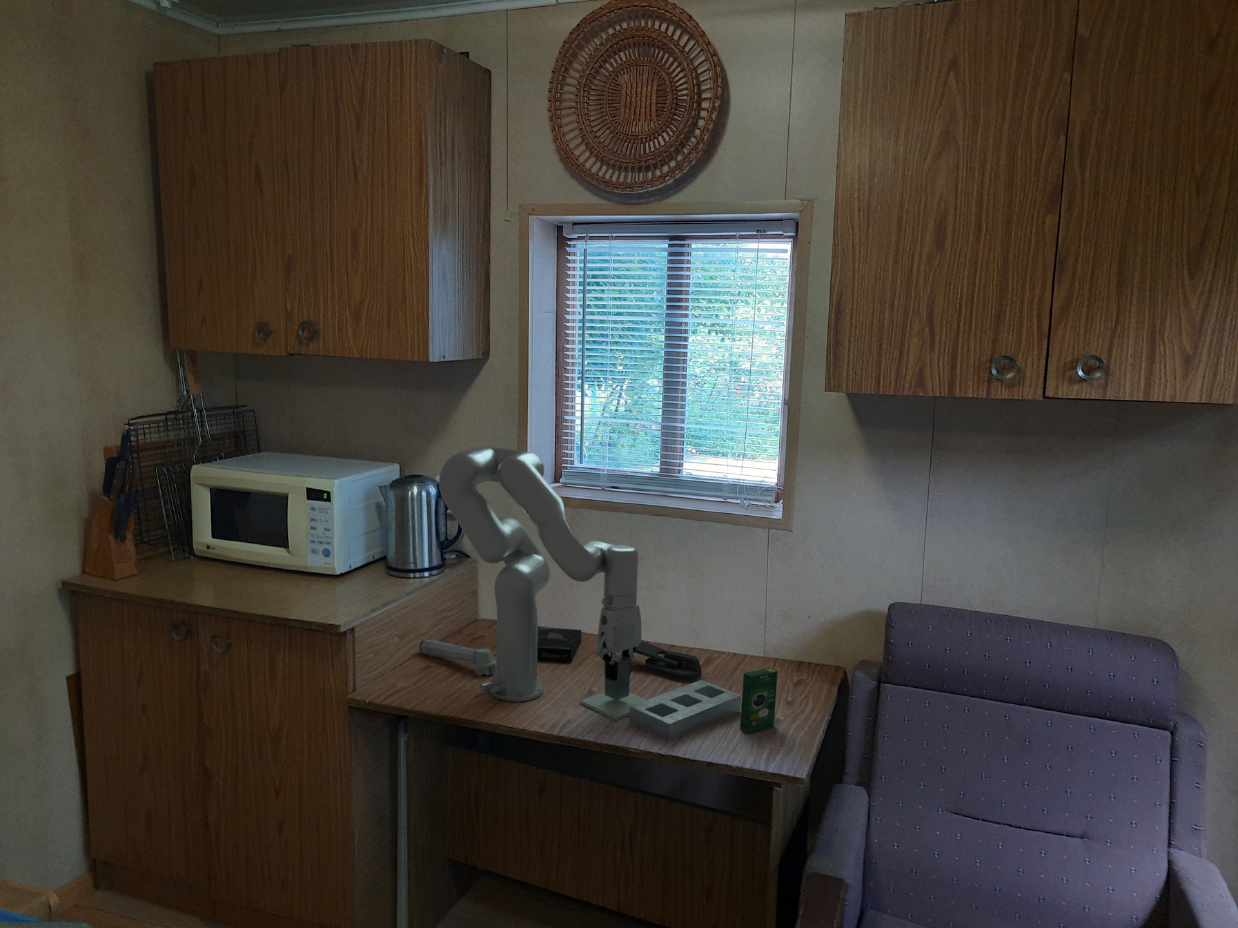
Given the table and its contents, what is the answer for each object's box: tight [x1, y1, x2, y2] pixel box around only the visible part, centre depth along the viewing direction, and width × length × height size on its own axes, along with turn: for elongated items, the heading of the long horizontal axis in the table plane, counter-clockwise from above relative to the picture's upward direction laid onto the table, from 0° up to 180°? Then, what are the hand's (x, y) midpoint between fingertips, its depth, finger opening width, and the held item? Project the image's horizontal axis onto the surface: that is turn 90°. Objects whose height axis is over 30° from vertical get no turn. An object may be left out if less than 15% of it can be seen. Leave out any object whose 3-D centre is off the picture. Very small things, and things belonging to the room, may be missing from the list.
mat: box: [580, 691, 647, 721], centre depth 211 cm, size 12×12×1 cm
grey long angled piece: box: [418, 638, 497, 676], centre depth 234 cm, size 5×7×25 cm
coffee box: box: [739, 667, 779, 734], centre depth 200 cm, size 8×3×13 cm, turn 123°
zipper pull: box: [634, 640, 702, 683], centre depth 235 cm, size 9×7×25 cm
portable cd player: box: [537, 626, 582, 664], centre depth 246 cm, size 16×17×4 cm
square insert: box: [604, 653, 631, 700], centre depth 210 cm, size 4×4×9 cm
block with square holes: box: [628, 679, 742, 742], centre depth 205 cm, size 24×12×4 cm, turn 134°
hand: (617, 675), depth 210 cm, fingers closed on square insert, 3 cm apart
